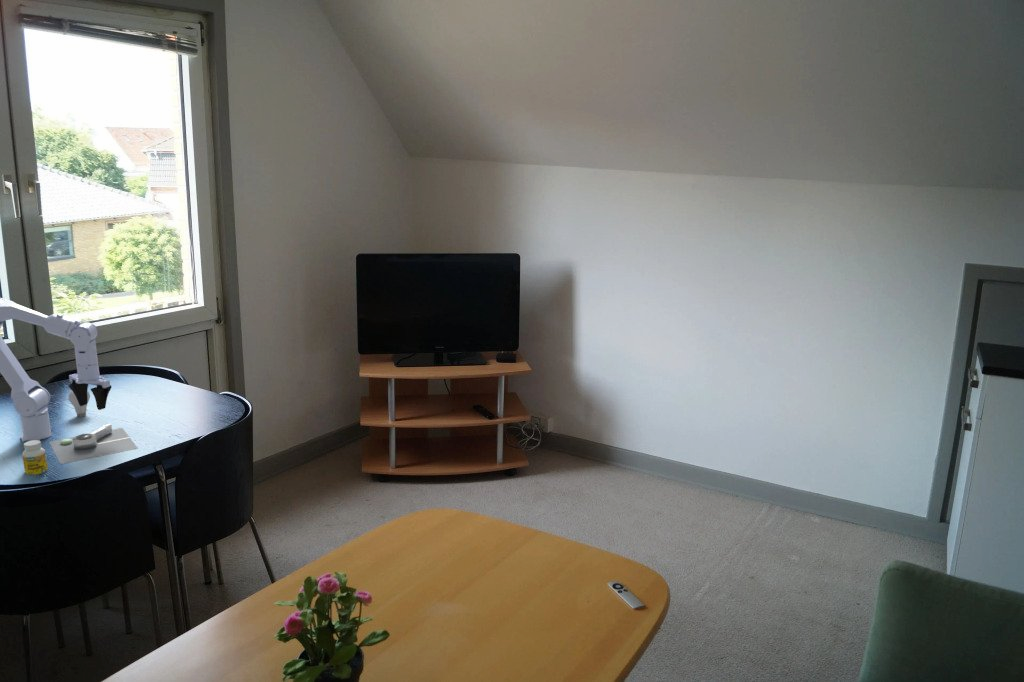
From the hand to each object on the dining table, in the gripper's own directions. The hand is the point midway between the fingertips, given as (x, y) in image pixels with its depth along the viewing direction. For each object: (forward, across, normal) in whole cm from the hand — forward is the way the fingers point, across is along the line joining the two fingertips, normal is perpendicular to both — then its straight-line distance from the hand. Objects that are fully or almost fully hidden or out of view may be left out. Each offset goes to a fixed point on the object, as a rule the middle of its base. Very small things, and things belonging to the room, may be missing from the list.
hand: (92, 406), depth 239 cm
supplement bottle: (+11, +8, -26) cm, 29 cm away
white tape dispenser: (+9, +4, -4) cm, 10 cm away
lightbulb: (+11, -18, +10) cm, 23 cm away
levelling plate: (+10, +6, -6) cm, 14 cm away
